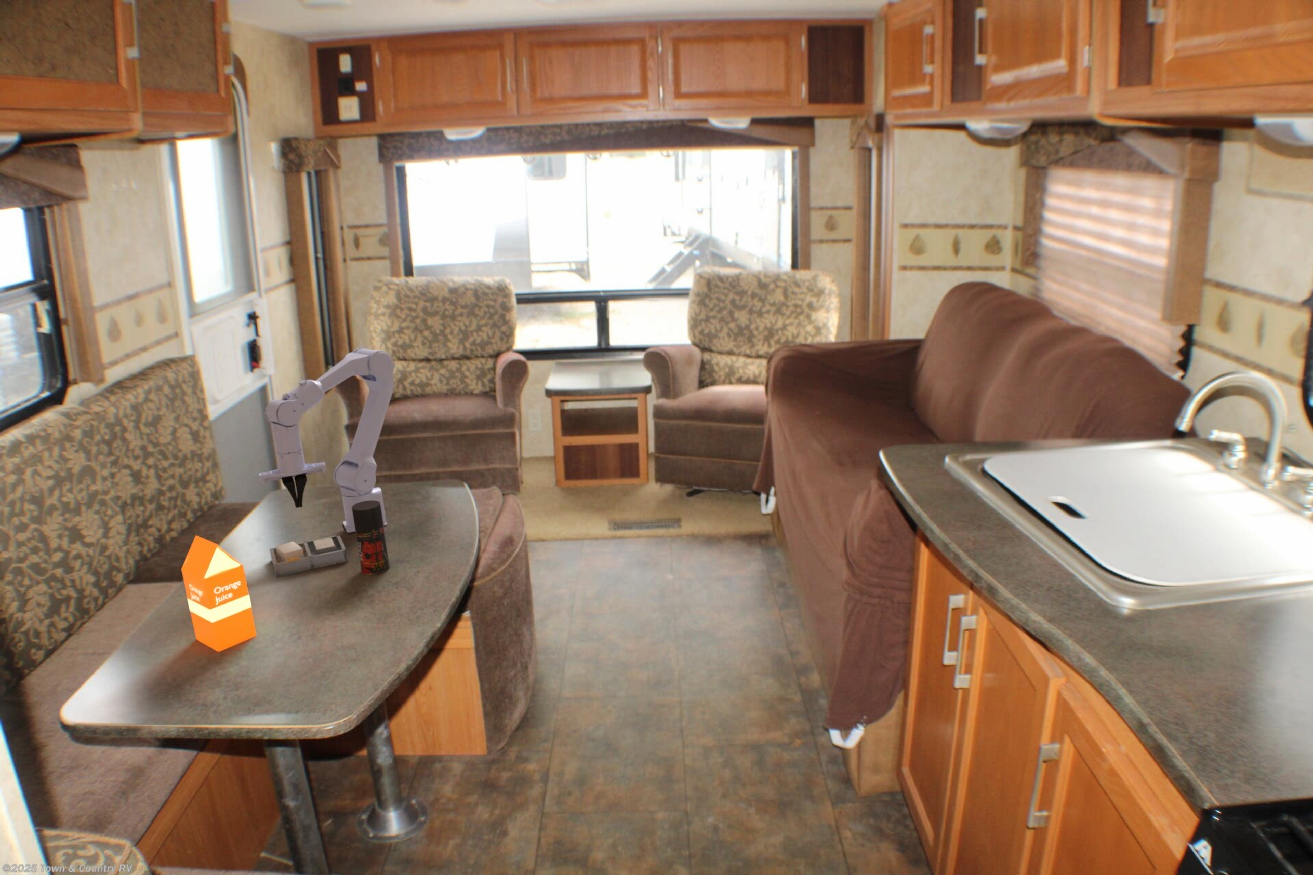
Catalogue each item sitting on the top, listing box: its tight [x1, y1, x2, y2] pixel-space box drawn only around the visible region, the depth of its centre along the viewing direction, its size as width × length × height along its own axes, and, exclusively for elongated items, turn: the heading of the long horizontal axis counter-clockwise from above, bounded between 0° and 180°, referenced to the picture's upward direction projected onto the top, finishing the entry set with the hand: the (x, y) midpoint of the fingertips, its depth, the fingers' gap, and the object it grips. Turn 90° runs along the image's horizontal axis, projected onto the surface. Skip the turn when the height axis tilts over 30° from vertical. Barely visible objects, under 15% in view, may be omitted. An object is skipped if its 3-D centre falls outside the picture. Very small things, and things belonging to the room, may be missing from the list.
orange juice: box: [180, 535, 257, 652], centre depth 177 cm, size 8×9×20 cm
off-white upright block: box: [275, 541, 304, 563], centre depth 213 cm, size 4×6×4 cm, turn 38°
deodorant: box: [352, 500, 390, 576], centre depth 205 cm, size 6×6×15 cm
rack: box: [269, 534, 349, 578], centre depth 214 cm, size 15×11×3 cm
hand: (298, 506), depth 221 cm, fingers closed
